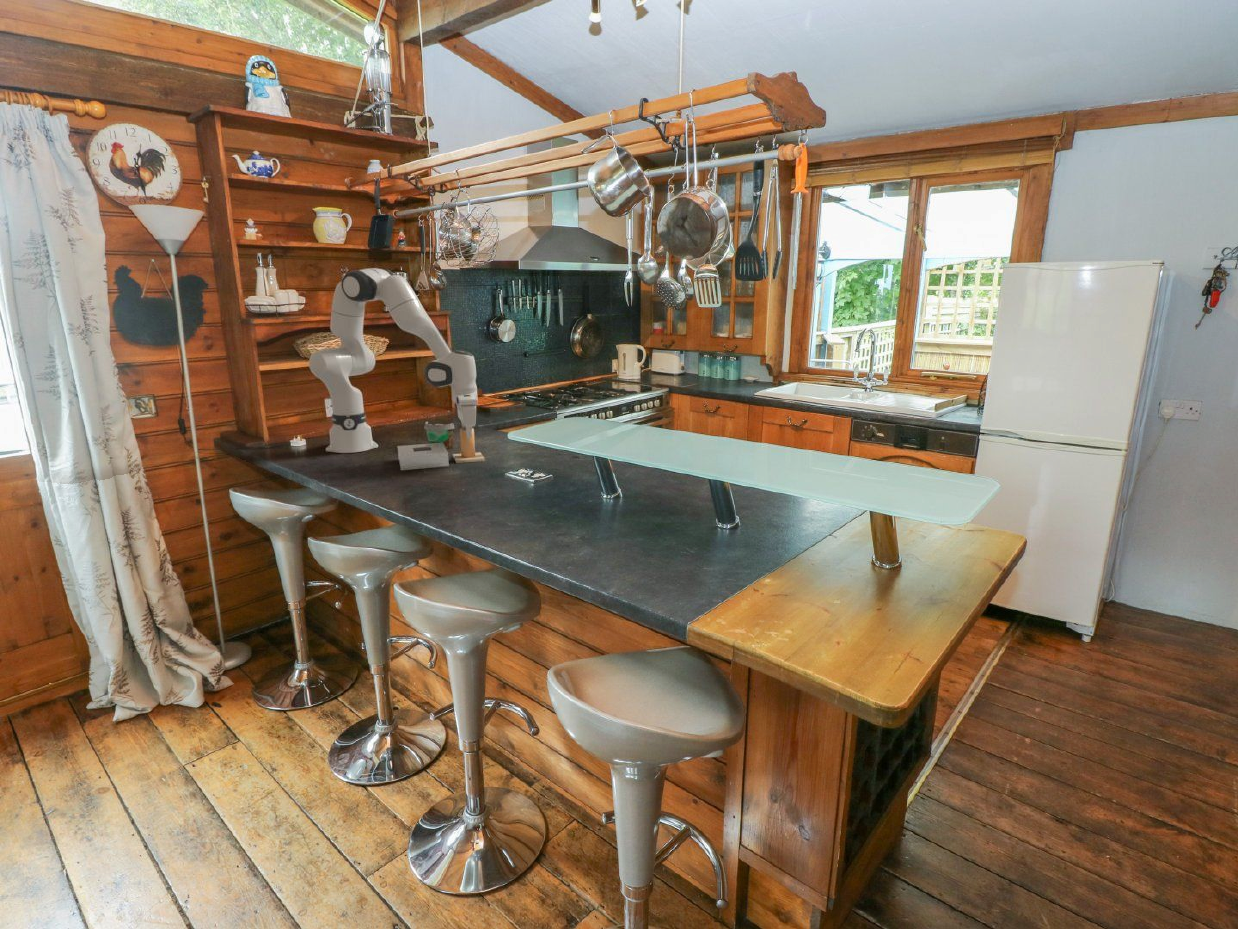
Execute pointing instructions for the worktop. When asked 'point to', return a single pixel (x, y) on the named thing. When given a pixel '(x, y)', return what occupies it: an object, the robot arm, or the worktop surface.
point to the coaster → (473, 459)
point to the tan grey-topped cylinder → (467, 444)
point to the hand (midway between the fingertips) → (467, 434)
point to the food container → (440, 434)
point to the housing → (422, 456)
